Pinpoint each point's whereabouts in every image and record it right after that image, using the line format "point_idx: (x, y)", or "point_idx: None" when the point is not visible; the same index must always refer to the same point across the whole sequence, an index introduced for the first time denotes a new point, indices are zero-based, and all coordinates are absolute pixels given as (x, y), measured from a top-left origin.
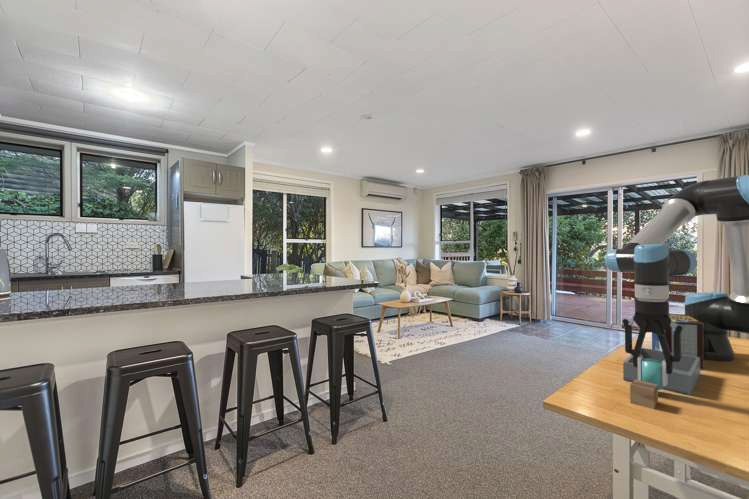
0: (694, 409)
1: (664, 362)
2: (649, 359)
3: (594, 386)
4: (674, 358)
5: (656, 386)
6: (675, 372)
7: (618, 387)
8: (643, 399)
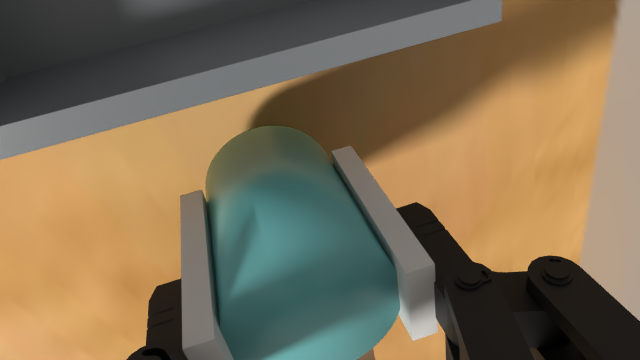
0: (456, 180)
1: (429, 333)
2: (272, 293)
3: (38, 350)
4: (532, 351)
5: (372, 349)
6: (395, 48)
7: (107, 252)
8: None
